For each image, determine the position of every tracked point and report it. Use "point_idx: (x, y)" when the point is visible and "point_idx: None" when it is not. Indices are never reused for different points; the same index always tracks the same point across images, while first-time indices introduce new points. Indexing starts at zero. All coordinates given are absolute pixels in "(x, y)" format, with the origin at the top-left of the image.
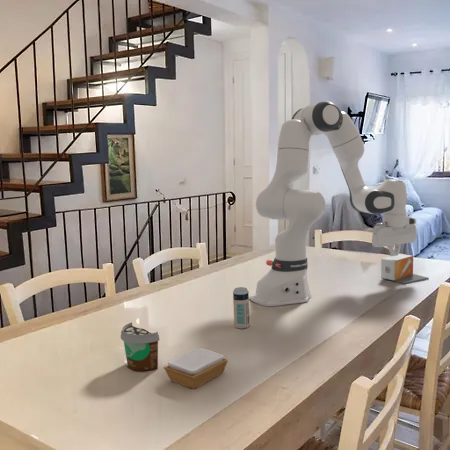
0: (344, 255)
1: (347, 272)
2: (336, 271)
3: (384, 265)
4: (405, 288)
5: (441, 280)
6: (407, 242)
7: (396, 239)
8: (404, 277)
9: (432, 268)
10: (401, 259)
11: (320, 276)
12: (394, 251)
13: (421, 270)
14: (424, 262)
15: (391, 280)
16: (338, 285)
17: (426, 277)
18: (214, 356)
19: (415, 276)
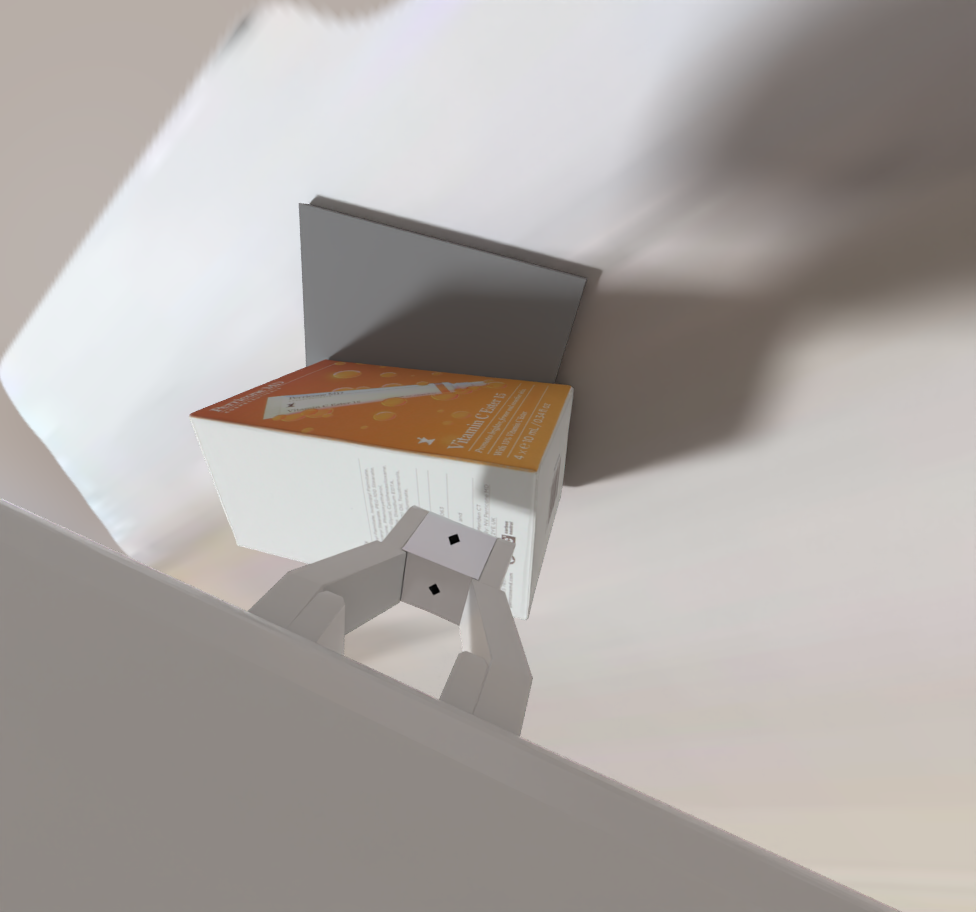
0: None
1: (536, 680)
2: (554, 721)
3: (544, 543)
4: (748, 165)
5: (248, 78)
6: (83, 542)
7: (313, 856)
8: (431, 370)
9: (117, 353)
10: (397, 447)
11: (713, 767)
12: (446, 580)
13: (196, 383)
14: (94, 447)
15: None
16: (926, 666)
17: (305, 224)
18: None
19: (347, 317)
